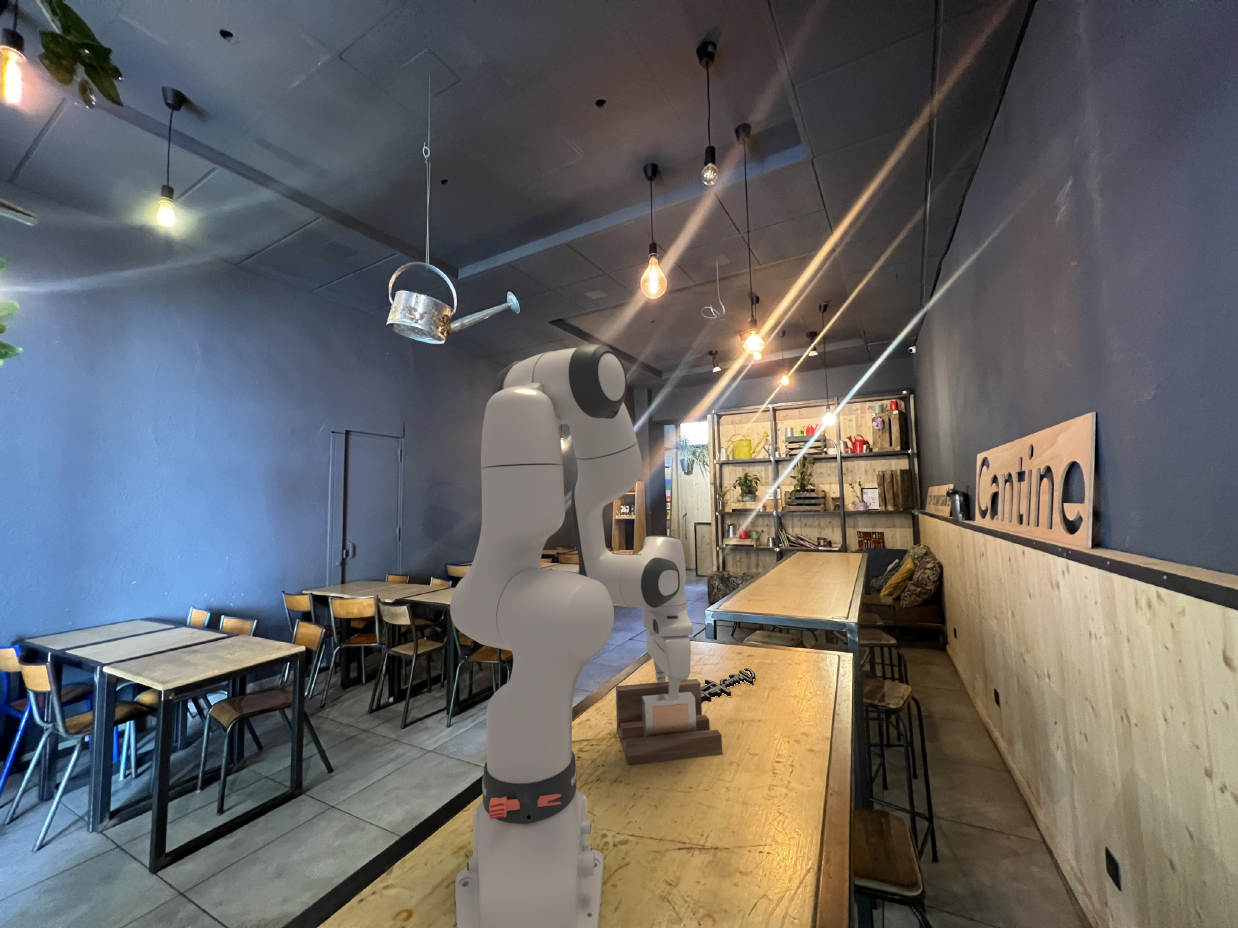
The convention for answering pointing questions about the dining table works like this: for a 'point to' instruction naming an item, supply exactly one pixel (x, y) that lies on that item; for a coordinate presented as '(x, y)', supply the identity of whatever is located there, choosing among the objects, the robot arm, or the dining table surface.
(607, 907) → the dining table surface
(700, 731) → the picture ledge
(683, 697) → the light grey rectangular block
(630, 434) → the robot arm
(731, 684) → the nameplate
